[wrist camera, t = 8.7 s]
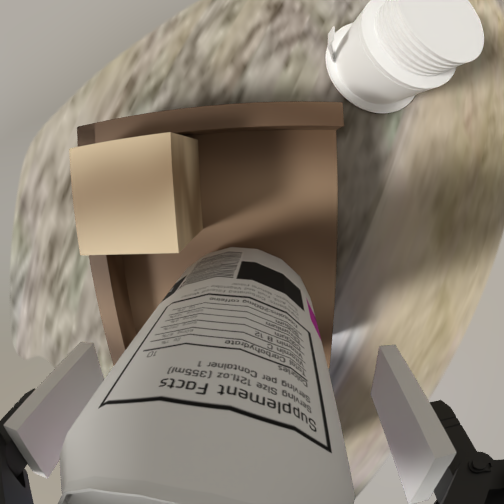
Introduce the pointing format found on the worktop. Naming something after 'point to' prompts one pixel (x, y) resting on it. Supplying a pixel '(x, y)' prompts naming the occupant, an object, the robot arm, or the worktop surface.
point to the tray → (236, 204)
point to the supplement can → (216, 399)
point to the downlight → (401, 50)
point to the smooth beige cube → (136, 194)
